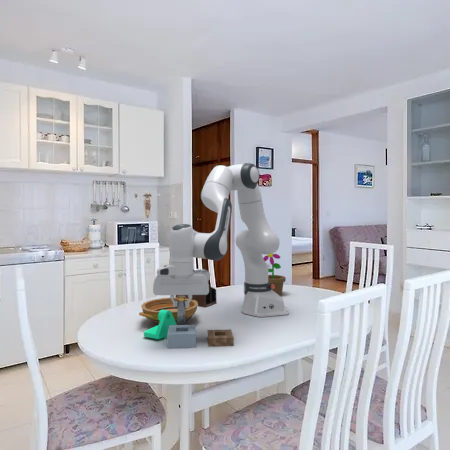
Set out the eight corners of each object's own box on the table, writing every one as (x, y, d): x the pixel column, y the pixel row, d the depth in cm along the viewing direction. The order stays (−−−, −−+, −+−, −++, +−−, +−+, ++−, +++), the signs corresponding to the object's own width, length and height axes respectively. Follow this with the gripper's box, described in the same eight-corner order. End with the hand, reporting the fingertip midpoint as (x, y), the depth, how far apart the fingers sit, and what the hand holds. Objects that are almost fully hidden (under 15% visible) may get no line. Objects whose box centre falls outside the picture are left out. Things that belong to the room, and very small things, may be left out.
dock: (195, 337, 140) (195, 324, 140) (195, 347, 130) (195, 333, 130) (169, 338, 140) (169, 325, 139) (167, 348, 130) (167, 334, 129)
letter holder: (205, 308, 183) (205, 279, 182) (174, 302, 194) (174, 275, 193) (216, 303, 191) (216, 276, 190) (187, 298, 202) (186, 273, 201)
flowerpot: (255, 295, 207) (256, 242, 206) (266, 291, 220) (267, 240, 218) (279, 299, 200) (279, 244, 198) (289, 293, 212) (289, 242, 211)
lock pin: (185, 321, 136) (185, 295, 136) (185, 323, 133) (185, 297, 133) (177, 321, 136) (177, 295, 135) (177, 323, 133) (177, 297, 133)
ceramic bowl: (159, 337, 140) (158, 317, 140) (124, 324, 157) (124, 305, 157) (214, 320, 162) (214, 302, 161) (178, 310, 178) (178, 293, 178)
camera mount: (162, 329, 150) (161, 304, 150) (177, 332, 147) (177, 307, 146) (142, 338, 140) (142, 312, 139) (158, 342, 136) (158, 314, 136)
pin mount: (231, 337, 141) (231, 329, 141) (233, 345, 132) (233, 337, 132) (207, 337, 140) (207, 330, 140) (208, 346, 131) (208, 338, 131)
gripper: (209, 267, 138) (209, 304, 138) (154, 267, 136) (154, 304, 137) (210, 270, 131) (210, 308, 132) (152, 270, 130) (152, 309, 130)
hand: (181, 306), depth 134 cm, fingers closed on lock pin, 3 cm apart
